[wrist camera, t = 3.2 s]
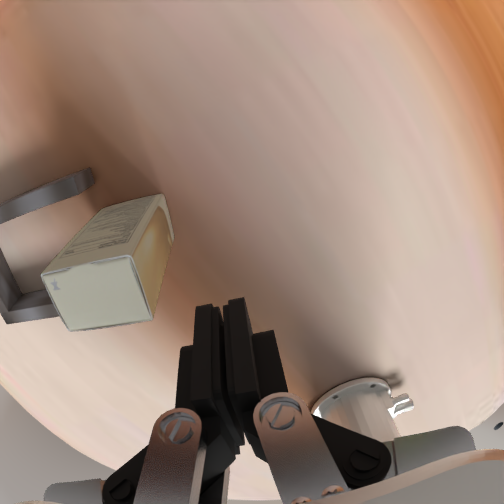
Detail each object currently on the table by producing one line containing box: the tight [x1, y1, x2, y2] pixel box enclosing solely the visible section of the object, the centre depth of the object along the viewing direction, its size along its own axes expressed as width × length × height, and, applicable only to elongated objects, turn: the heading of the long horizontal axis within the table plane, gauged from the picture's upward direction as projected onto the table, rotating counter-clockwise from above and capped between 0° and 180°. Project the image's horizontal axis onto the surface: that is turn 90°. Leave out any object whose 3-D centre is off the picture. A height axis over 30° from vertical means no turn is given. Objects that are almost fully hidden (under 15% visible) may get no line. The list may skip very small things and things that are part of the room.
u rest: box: [0, 168, 95, 324], centre depth 25 cm, size 16×12×4 cm
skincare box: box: [41, 194, 174, 332], centre depth 21 cm, size 6×4×12 cm
